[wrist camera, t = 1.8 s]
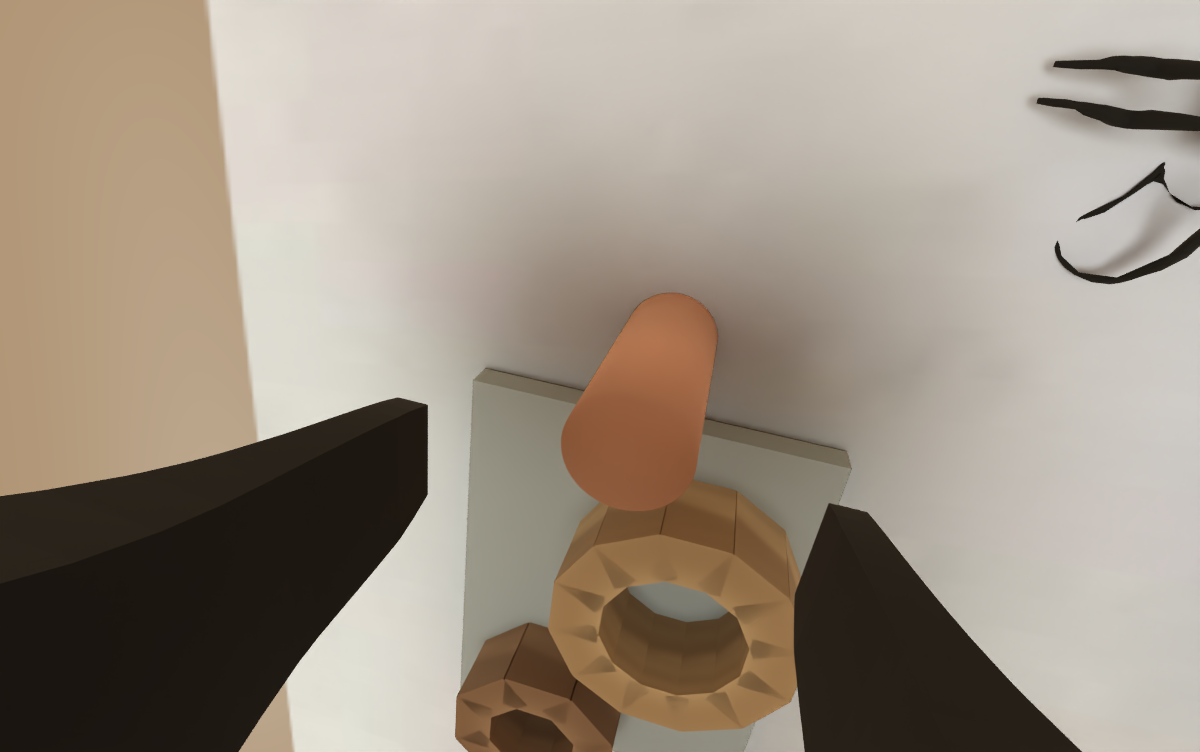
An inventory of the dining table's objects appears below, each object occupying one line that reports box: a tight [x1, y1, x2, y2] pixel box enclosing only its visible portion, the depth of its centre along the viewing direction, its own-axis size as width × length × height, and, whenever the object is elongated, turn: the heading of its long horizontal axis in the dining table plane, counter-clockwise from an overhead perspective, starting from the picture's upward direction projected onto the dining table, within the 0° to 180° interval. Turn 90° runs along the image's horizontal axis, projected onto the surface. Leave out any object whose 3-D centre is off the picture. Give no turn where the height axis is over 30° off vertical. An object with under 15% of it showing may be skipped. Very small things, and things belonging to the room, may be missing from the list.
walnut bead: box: [455, 622, 621, 752], centre depth 23 cm, size 6×6×3 cm
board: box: [461, 369, 852, 752], centre depth 22 cm, size 16×12×1 cm
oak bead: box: [548, 480, 801, 732], centre depth 19 cm, size 8×8×3 cm
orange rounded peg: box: [561, 293, 718, 511], centre depth 15 cm, size 3×3×7 cm
